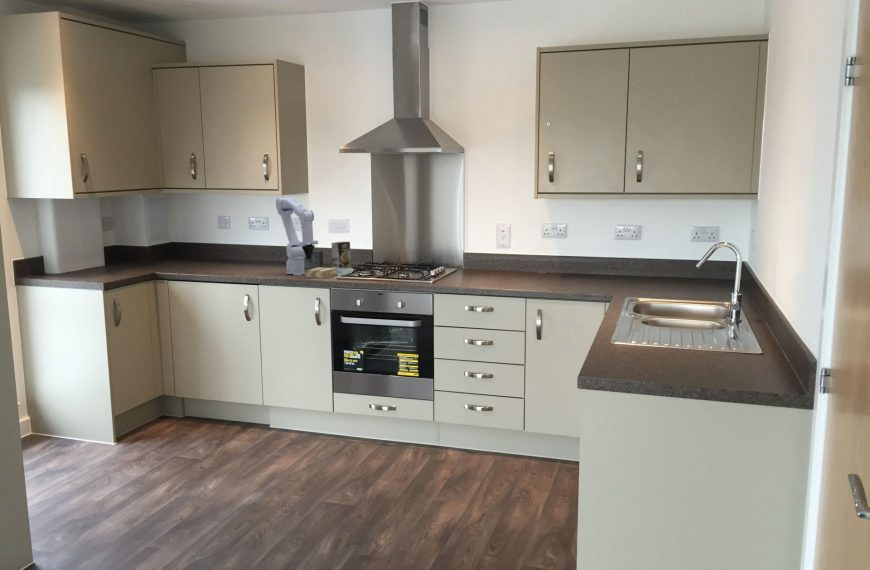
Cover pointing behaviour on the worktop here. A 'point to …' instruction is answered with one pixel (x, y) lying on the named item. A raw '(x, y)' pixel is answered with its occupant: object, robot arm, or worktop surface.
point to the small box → (314, 260)
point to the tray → (345, 271)
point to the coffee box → (341, 255)
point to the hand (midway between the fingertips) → (308, 258)
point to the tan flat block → (321, 272)
